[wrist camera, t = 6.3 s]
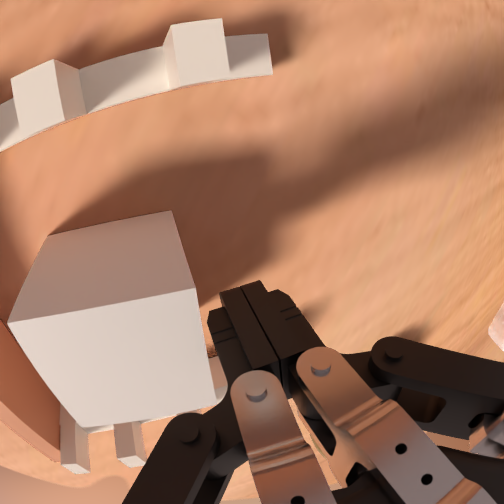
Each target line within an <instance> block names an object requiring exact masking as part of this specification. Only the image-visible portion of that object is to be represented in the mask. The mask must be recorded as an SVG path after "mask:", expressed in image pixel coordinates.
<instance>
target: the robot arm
mask: <svg viewBox="0 0 504 504" xmlns="http://www.w3.org/2000/svg"><path fill="white" fill-rule="evenodd" d="M219 295H220V299H221V303H222V307H221V308H217V309H214V310H211V311H209V316H208V320H207V324H208V327H209V330H210V333H211V336H212V340H213V343H214V346H215V349H216V352H217V354H218V357H219V360H220V363H221V366H222V369H223V371H224V374H225V377H226V380H227V384H228V387H227V392H226V394H225V396H224V398H223V399H222V401H221V402H220V403H219V404H218V405H216V406H215V407H214V408H212V409H211V410H209V411H207V412H206V413H204V414H203V415H202V414H199V413H194V412H189V413H183V414H180V415H178V416H176V417H175V418H173V419H172V420H171V421H170V422H169V423H168V425H167V426H166V428H165V430H164V431H163V433H162V435H161V437H160V438H159V440H158V442H157V444H156V445H155V447H154V449H153V451H152V452H151V454H150V456H149V458H148V459H147V461H146V463H145V465H144V466H143V468H142V470H141V472H140V473H139V475H138V477H137V478H136V480H135V482H134V484H133V485H132V487H131V489H130V490H129V492H128V494H127V496H126V497H125V499H124V501H123V503H122V504H219V503H220V501H221V499H222V497H223V494H224V492H225V490H226V488H227V486H228V483H229V481H230V479H231V477H232V474H233V472H234V470H235V469H236V468H237V467H239V466H240V465H242V464H243V463H245V462H246V461H247V460H249V465H250V469H251V472H252V476H253V479H254V482H255V485H256V488H257V491H258V495H259V498H260V500H261V503H262V504H504V363H502V362H498V361H493V360H489V359H484V358H480V357H476V356H471V355H467V354H463V353H459V352H454V351H450V350H446V349H442V348H438V347H434V346H430V345H426V344H422V343H418V342H415V341H411V340H407V339H403V338H399V337H392V336H391V337H385V338H382V339H380V340H378V341H377V342H376V343H375V344H374V346H373V347H372V350H371V351H368V352H361V353H355V354H341V353H339V352H337V351H336V350H334V349H331V348H328V347H326V346H325V345H324V344H323V342H322V341H321V340H320V338H319V337H318V335H317V334H316V333H315V331H314V330H313V328H312V327H311V326H310V324H309V323H308V321H307V320H306V319H305V317H304V316H303V315H302V313H301V312H300V310H299V309H298V307H296V305H295V303H294V302H293V300H292V299H291V298H290V296H289V295H287V294H285V293H284V292H282V291H280V290H278V289H277V290H274V291H271V292H267V290H266V289H265V287H264V285H263V284H262V282H261V281H260V280H258V281H255V282H252V283H249V284H245V285H242V286H240V287H236V288H233V289H230V290H226V291H223V292H220V293H219ZM290 398H293V400H294V402H295V403H296V405H297V410H298V416H299V418H300V419H301V421H302V422H303V424H304V425H305V427H306V428H307V430H308V431H309V433H310V434H311V436H312V437H313V439H314V440H315V442H316V443H317V445H318V446H319V448H320V449H321V451H322V452H323V454H324V455H325V457H326V458H327V460H328V463H329V466H330V469H331V471H332V473H333V475H334V476H335V478H336V479H337V481H338V482H339V484H340V485H341V486H342V489H338V490H334V491H331V490H330V488H329V485H328V483H327V481H326V479H325V476H324V474H323V472H322V470H321V467H320V465H319V463H318V461H317V458H316V456H315V454H314V452H313V450H312V448H311V446H310V445H309V444H308V443H306V441H305V440H304V438H303V436H302V433H301V431H300V429H299V426H298V424H297V421H296V419H295V417H294V414H293V412H292V410H291V407H290V405H289V402H288V399H290ZM423 430H424V431H428V432H433V433H437V434H441V435H446V436H451V437H455V438H461V439H466V440H469V442H470V444H469V450H470V452H472V453H469V452H465V451H460V450H456V449H452V448H448V447H443V446H436V445H435V444H434V443H433V442H432V440H430V438H429V437H428V436H427V435H426V434H425V433H424V431H423ZM474 453H478V454H474ZM479 454H480V455H479Z"/></svg>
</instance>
